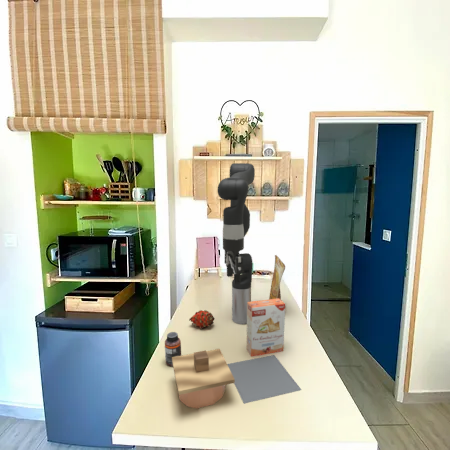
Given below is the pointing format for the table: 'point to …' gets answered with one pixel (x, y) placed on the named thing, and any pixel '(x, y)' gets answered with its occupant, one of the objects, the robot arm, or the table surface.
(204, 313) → the dragon fruit
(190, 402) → the bowl
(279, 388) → the mat
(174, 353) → the supplement bottle
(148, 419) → the table surface
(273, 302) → the cracker box
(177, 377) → the board
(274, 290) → the pancake mix bag
